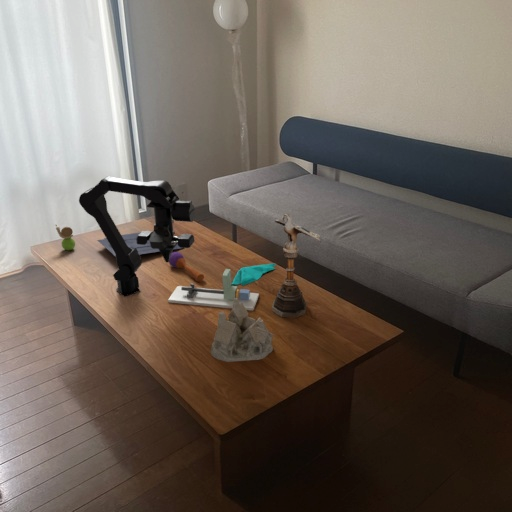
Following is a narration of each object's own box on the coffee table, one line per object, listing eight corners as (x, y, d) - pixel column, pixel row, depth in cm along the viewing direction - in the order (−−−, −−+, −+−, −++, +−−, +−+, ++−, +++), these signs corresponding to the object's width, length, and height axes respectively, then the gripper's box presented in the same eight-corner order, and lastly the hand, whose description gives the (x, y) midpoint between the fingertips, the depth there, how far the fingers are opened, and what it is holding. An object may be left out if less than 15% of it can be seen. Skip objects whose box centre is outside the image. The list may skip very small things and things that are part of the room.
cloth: (268, 260, 208) (268, 255, 207) (290, 272, 198) (290, 267, 197) (213, 278, 195) (213, 272, 194) (233, 292, 184) (233, 287, 183)
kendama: (192, 275, 187) (164, 253, 201) (195, 288, 191) (167, 265, 204) (205, 268, 190) (177, 247, 203) (208, 280, 193) (180, 259, 207)
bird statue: (296, 290, 184) (299, 197, 169) (323, 304, 175) (328, 207, 160) (261, 306, 174) (261, 209, 159) (288, 321, 165) (290, 220, 150)
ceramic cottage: (203, 350, 152) (204, 307, 145) (242, 329, 163) (245, 288, 156) (239, 376, 142) (242, 331, 136) (279, 352, 153) (283, 309, 147)
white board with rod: (168, 302, 177) (167, 290, 175) (177, 288, 186) (177, 277, 184) (253, 310, 172) (253, 298, 170) (258, 295, 181) (258, 284, 179)
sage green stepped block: (223, 300, 176) (222, 275, 171) (226, 293, 180) (225, 268, 176) (234, 301, 175) (233, 276, 171) (237, 294, 179) (237, 269, 175)
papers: (95, 244, 219) (95, 236, 218) (159, 236, 237) (159, 228, 235) (117, 264, 201) (117, 256, 200) (185, 253, 219) (185, 245, 217)
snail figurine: (59, 248, 218) (54, 222, 213) (75, 246, 221) (70, 220, 216) (61, 253, 214) (55, 227, 209) (76, 251, 216) (72, 224, 211)
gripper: (127, 226, 164) (132, 270, 171) (182, 230, 161) (186, 274, 168) (140, 214, 174) (145, 256, 181) (193, 218, 171) (196, 260, 177)
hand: (167, 261), depth 176 cm, fingers closed
